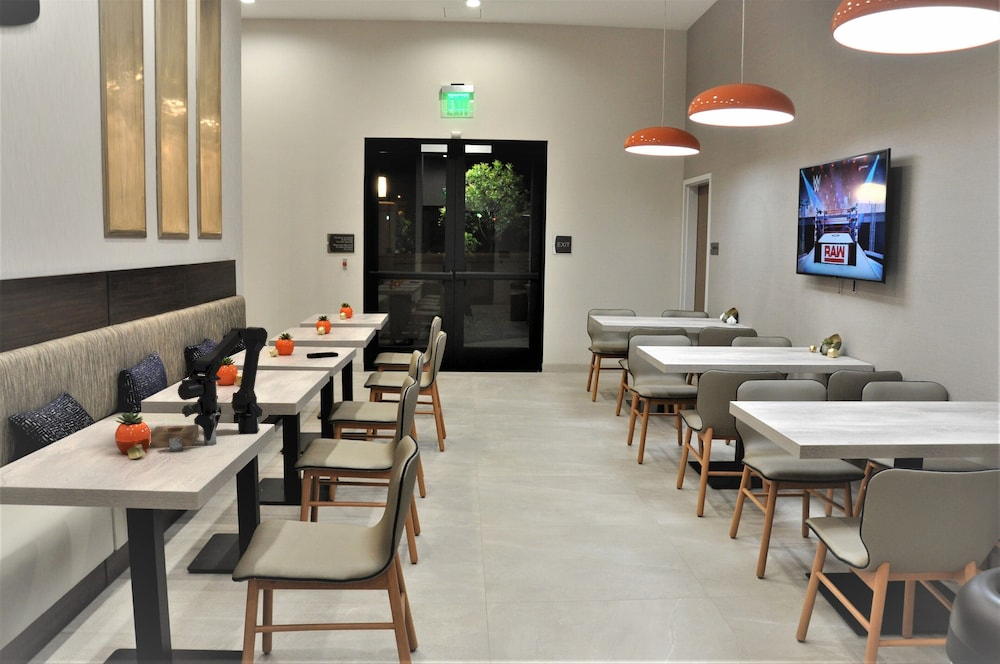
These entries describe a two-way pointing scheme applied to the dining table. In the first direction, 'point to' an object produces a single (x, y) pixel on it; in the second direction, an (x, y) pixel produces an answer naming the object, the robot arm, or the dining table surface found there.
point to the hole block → (174, 435)
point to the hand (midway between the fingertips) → (210, 438)
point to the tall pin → (213, 439)
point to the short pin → (175, 444)
